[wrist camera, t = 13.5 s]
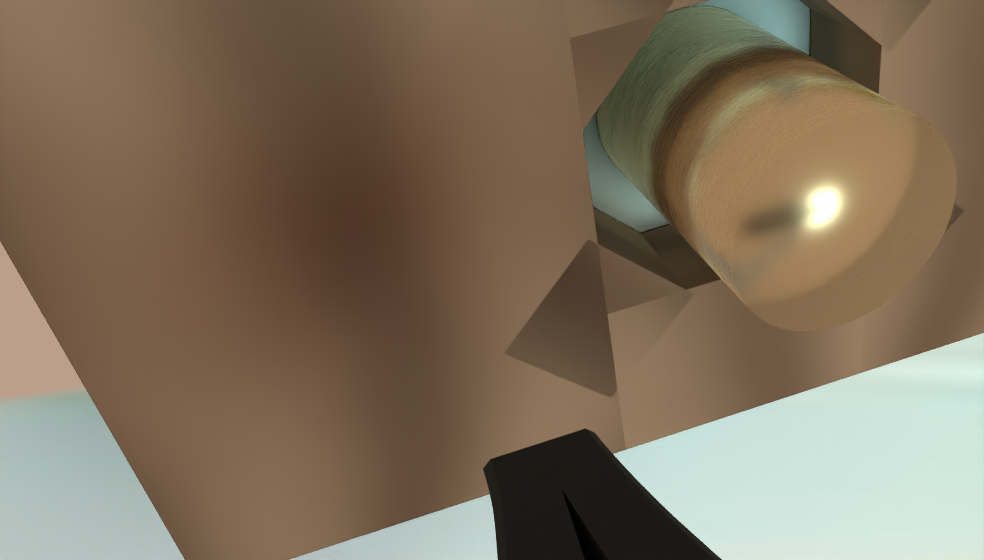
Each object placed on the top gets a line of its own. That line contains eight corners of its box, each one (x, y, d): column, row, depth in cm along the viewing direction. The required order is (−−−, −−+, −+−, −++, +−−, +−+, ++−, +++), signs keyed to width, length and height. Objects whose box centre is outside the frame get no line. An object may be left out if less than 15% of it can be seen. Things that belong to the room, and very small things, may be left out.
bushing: (610, 206, 21) (740, 361, 16) (583, 38, 18) (724, 156, 13) (772, 153, 21) (947, 287, 16) (765, -18, 19) (966, 76, 14)
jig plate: (202, 506, 22) (201, 587, 20) (-116, -90, 14) (-172, -55, 12) (943, 272, 24) (1009, 324, 22) (1020, -359, 16) (1134, -367, 14)
